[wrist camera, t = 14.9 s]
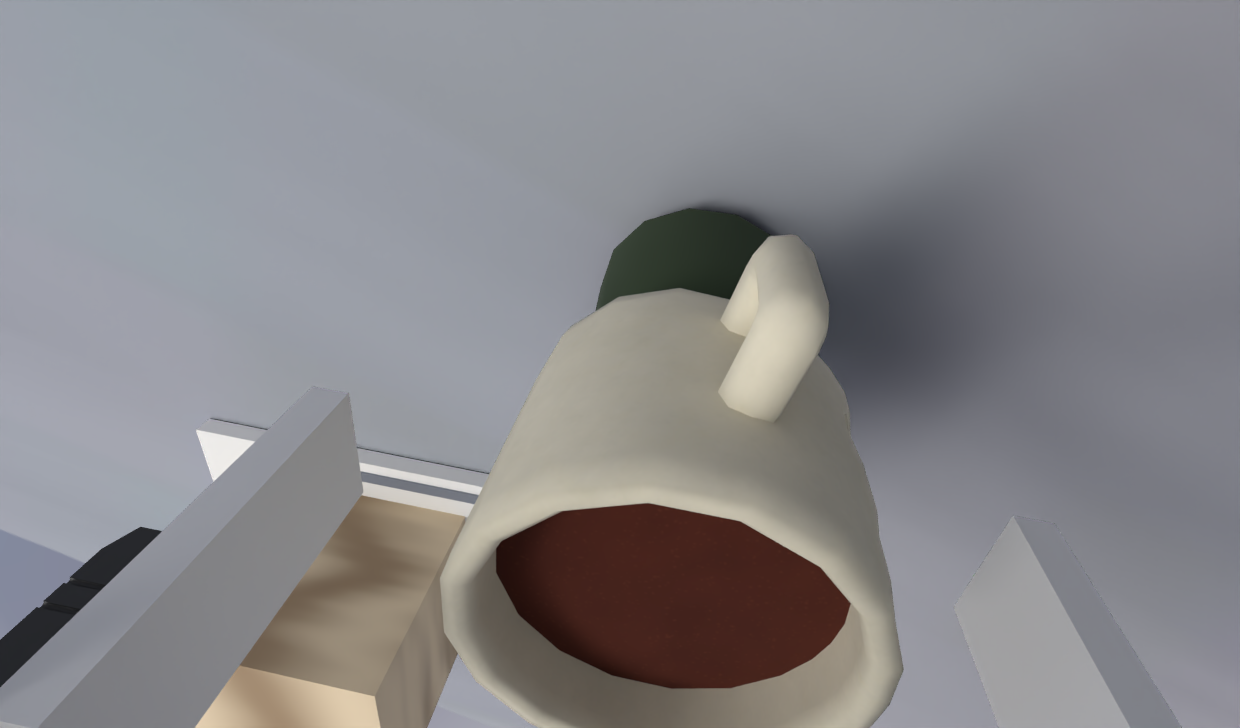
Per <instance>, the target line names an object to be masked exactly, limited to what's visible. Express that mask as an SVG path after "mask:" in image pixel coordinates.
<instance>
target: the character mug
mask: <svg viewBox="0 0 1240 728" xmlns="http://www.w3.org/2000/svg"><path fill="white" fill-rule="evenodd" d="M828 324H829V301H828V298H827V295H826V291H825V288H824V285H823V281H822V278H821V275H820V272H819V268H818V265H817V262H816V259H815V255H814V253H813V252H812V250H811V249H810V248H809V247H808V246H807V245H806V244H805V243H804V242H803V241H802V240H801V239H800V238H799V237H798V236H796V235H792V234H788V235H778V236H771V235H770V234H768V233H766V232H765V231H763V230H761V229H760V228H758V227H756V226H755V225H753V224H751V223H750V222H748V221H746V220H745V219H743V218H741V217H740V216H738V215H734V214H726V213H719V212H712V211H704V210H697V209H690V208H689V209H685V210H682V211H678V212H675V213H671V214H668V215H664V216H661V217H657V218H654V219H650V220H647V221H644V222H643V223H642V224H641V225H640V226H639V227H638V228H637V229H636V230H634V231H633V232H632V233H631V234H630V235H629V236H628V237H627V238H626V239H625V240H624V241H623V242H621V243H620V244H619V245H618V246H617V247H616V248H615V249H614V250H613V253H612V256H611V259H610V262H609V265H608V268H607V271H606V274H605V277H604V280H603V283H602V286H601V289H600V293H599V298H598V302H597V307H596V311H595V312H593V313H592V314H590V315H589V316H587V317H585V318H584V319H582V320H580V321H579V322H577V323H576V324H574V325H572V326H571V327H570V328H569V329H568V330H567V331H566V332H565V333H564V335H563V336H562V337H561V339H560V340H559V342H558V344H557V345H556V347H555V349H554V350H553V352H552V354H551V355H550V357H549V359H548V360H547V362H546V364H545V366H544V367H543V369H542V371H541V372H540V374H539V376H538V377H537V379H536V381H535V383H534V385H533V387H532V389H531V391H530V393H529V395H528V397H527V399H526V401H525V403H524V405H523V407H522V409H521V411H520V413H519V415H518V417H517V419H516V421H515V423H514V425H513V427H512V429H511V431H510V433H509V435H508V437H507V439H506V441H505V443H504V445H503V447H502V449H501V451H500V453H499V455H498V458H497V460H496V462H495V464H494V466H493V468H492V470H491V472H490V474H489V476H488V478H487V480H486V482H485V484H484V486H483V488H482V490H481V492H480V494H479V496H478V498H477V500H476V502H475V504H474V506H473V508H472V510H471V512H470V514H469V516H468V518H467V520H466V522H465V524H464V526H463V528H462V530H461V532H460V534H459V536H458V538H457V540H456V542H455V544H454V547H453V549H452V551H451V553H450V555H449V558H448V560H447V562H446V565H445V567H444V569H443V572H442V574H441V576H440V588H441V600H442V613H443V626H444V633H445V634H446V636H447V638H448V639H449V641H450V642H451V644H452V645H453V647H454V648H455V650H456V651H457V653H458V654H459V656H460V657H461V659H462V660H463V662H464V664H465V665H466V667H467V668H468V670H469V671H470V673H471V674H472V676H473V677H474V679H475V680H476V682H477V683H479V684H480V685H481V686H482V687H484V688H485V689H486V690H487V691H489V692H490V693H491V694H493V695H494V696H495V697H496V698H498V699H499V700H500V701H501V702H503V703H504V704H505V705H507V706H508V707H509V708H510V709H512V710H513V711H514V712H515V713H517V714H518V715H519V716H521V717H522V718H523V719H524V720H526V721H527V722H528V723H530V724H532V725H534V726H537V727H539V728H869V727H871V726H872V725H873V724H874V722H875V721H876V720H877V719H878V718H879V717H880V715H881V714H882V713H883V712H884V711H885V709H886V708H887V707H888V706H889V705H890V702H891V700H892V697H893V695H894V692H895V690H896V687H897V685H898V682H899V680H900V677H901V675H902V672H903V670H904V669H903V663H902V657H901V652H900V646H899V640H898V634H897V629H896V622H895V614H894V605H893V596H892V588H891V580H890V576H889V572H888V568H887V564H886V561H885V557H884V553H883V549H882V545H881V542H880V538H879V528H878V516H877V509H876V505H875V502H874V499H873V495H872V492H871V489H870V485H869V482H868V479H867V476H866V472H865V469H864V466H863V463H862V461H861V459H860V456H859V454H858V452H857V450H856V447H855V445H854V443H853V441H852V438H851V436H850V411H849V407H848V403H847V399H846V395H845V392H844V390H843V389H842V387H841V386H840V384H839V382H838V381H837V379H836V378H835V376H834V374H833V373H832V371H831V370H830V368H829V367H828V366H827V365H826V364H825V363H824V361H823V360H822V359H821V358H820V357H819V356H818V354H819V352H820V349H821V347H822V345H823V343H824V341H825V338H826V336H827V330H828Z"/></svg>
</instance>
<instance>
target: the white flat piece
mask: <svg viewBox="0 0 1240 728" xmlns="http://www.w3.org/2000/svg"><path fill="white" fill-rule="evenodd" d="M196 431H197V434H198V437H199V440H200V443H201V446H202V449H203V452H204V455H205V458H206V461H207V464H208V467H209V470H210V473H211V476H212V479H213V482H214V481H215V480H216V479H217V478H218V477H219V476H220V475H221V474H222V473H223V472H224V471H225V470H226V469H227V468H228V467H229V466H230V465H231V464H233V463H234V462H235V461H236V460H237V459H238V458H239V457H240V456H241V455H242V454H243V453H244V452H245V451H246V450H247V449H248V448H249V447H250V446H251V445H252V444H253V443H254V442H255V441H256V440H257V439H258V438H259V437H261V436H262V435H263V434H264V433H265V432H266V431H267V430H264V429H259V428H254V427H249V426H244V425H239V424H234V423H229V422H224V421H219V420H214V419H208V420H207V421H206V422H204V423H203V424H202V425H201V426H200V427H198V428H197V429H196ZM357 452H358V458H359V465H360V472H361V479H362V485H363V494H362V495H363V496H368V497H372V498H377V499H382V500H387V501H392V502H397V503H402V504H407V505H412V506H416V507H421V508H426V509H431V510H436V511H441V512H446V513H451V514H456V515H460V516H465V522H466V520H467V518H468V516H469V514H470V512H471V510H472V508H473V506H474V504H475V502H476V500H477V498H478V496H479V494H480V492H481V490H482V488H483V486H484V484H485V482H486V480H487V478H488V476H489V474H485V473H480V472H475V471H470V470H465V469H460V468H455V467H450V466H445V465H440V464H435V463H430V462H425V461H420V460H415V459H410V458H405V457H400V456H395V455H390V454H385V453H380V452H375V451H370V450H365V449H360V448H357Z"/></svg>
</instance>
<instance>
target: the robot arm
mask: <svg viewBox="0 0 1240 728" xmlns="http://www.w3.org/2000/svg"><path fill="white" fill-rule="evenodd" d="M362 494H363V485H362V479H361V472H360V465H359V458H358V452H357V445H356V438H355V431H354V425H353V418H352V411H351V405H350V398H349V393H346V392H341V391H335V390H330V389H325V388H319V387H314V386H312V387H311V388H310V389H309V390H308V391H307V392H306V393H305V394H304V395H303V396H302V397H301V398H300V399H299V400H298V401H297V402H296V403H295V404H294V405H293V406H292V407H291V408H290V409H289V410H287V411H286V412H285V413H284V414H283V415H282V416H281V417H280V418H279V419H278V420H277V421H276V422H275V423H274V424H273V425H272V426H271V427H270V428H269V429H268V430H267V431H266V432H265V433H264V434H263V435H262V436H261V437H259V438H258V439H257V440H256V441H255V442H254V443H253V444H252V445H251V446H250V447H249V448H248V449H247V450H246V451H245V452H244V453H243V454H242V455H241V456H240V457H239V458H238V459H237V460H236V461H235V462H234V463H233V464H231V465H230V466H229V467H228V468H227V469H226V470H225V471H224V472H223V473H222V474H221V475H220V476H219V477H218V478H217V479H216V480H215V481H214V482H213V483H212V484H211V485H210V486H209V487H208V488H207V489H206V490H204V491H203V492H202V493H201V494H200V495H199V496H198V497H197V498H196V499H195V500H194V501H193V502H192V503H191V504H190V505H189V506H188V507H187V508H186V509H185V510H184V511H183V512H182V513H181V514H180V515H179V516H178V517H176V518H175V519H174V520H173V521H172V522H171V523H170V524H169V525H168V526H167V527H166V528H165V529H164V530H163V531H158V530H153V529H149V528H144V527H139V528H138V529H136V530H134V531H132V532H131V533H129V534H127V535H125V536H124V537H122V538H120V539H118V540H116V541H115V542H113V543H111V544H109V545H108V546H106V547H104V548H102V549H101V550H100V551H99V552H98V553H96V554H95V555H94V556H93V557H92V558H91V559H90V560H89V561H88V562H86V563H85V564H84V565H83V566H82V567H81V568H80V569H79V570H78V571H76V572H75V573H74V574H73V575H72V576H71V577H70V581H69V582H68V583H66V584H65V583H63V584H62V585H61V586H60V587H59V588H58V589H56V590H55V591H54V592H53V593H52V594H51V595H50V596H49V597H48V598H46V599H45V600H44V603H43V605H42V606H41V607H40V608H38V607H36V608H35V609H34V610H33V611H32V612H31V613H30V614H29V615H27V616H26V618H24V619H23V620H22V621H21V622H20V623H19V624H18V625H16V626H15V627H14V628H13V629H12V630H11V631H10V632H9V633H7V634H6V635H5V636H4V637H3V638H2V639H1V640H0V728H195V727H196V725H197V724H198V723H199V721H200V720H201V718H202V717H203V716H204V714H205V713H206V711H207V710H208V709H209V707H210V706H211V704H212V703H213V702H214V700H215V699H216V697H217V696H218V695H219V693H220V692H221V690H222V689H223V688H224V686H225V685H226V683H227V682H228V681H229V679H230V678H231V676H232V675H233V674H234V672H235V671H236V669H237V668H238V667H239V665H240V664H241V662H242V661H243V660H244V658H245V657H246V656H247V654H248V653H249V651H250V650H251V649H252V647H253V646H254V644H255V643H256V642H257V640H258V639H259V637H260V636H261V635H262V633H263V632H264V630H265V629H266V628H267V626H268V625H269V623H270V622H271V621H272V619H273V618H274V616H275V615H276V614H277V612H278V611H279V609H280V608H281V607H282V605H283V604H284V602H285V601H286V600H287V598H288V597H289V596H290V594H291V593H292V591H293V590H294V589H295V587H296V586H297V584H298V583H299V582H300V580H301V579H302V577H303V576H304V575H305V573H306V572H307V570H308V569H309V568H310V566H311V565H312V563H313V562H314V561H315V559H316V558H317V556H318V555H319V554H320V552H321V551H322V549H323V548H324V547H325V545H326V544H327V542H328V541H329V540H330V538H331V537H332V536H333V534H334V533H335V531H336V530H337V529H338V527H339V526H340V524H341V523H342V522H343V520H344V519H345V517H346V516H347V515H348V513H349V512H350V510H351V509H352V508H353V506H354V505H355V503H356V502H357V501H358V499H359V498H360V496H361V495H362ZM954 609H955V612H956V615H957V617H958V620H959V623H960V625H961V628H962V631H963V633H964V636H965V639H966V641H967V644H968V647H969V649H970V652H971V655H972V657H973V660H974V663H975V665H976V668H977V671H978V673H979V676H980V679H981V681H982V684H983V687H984V689H985V692H986V695H987V697H988V700H989V703H990V705H991V708H992V711H993V713H994V716H995V719H996V721H997V724H998V727H999V728H1182V727H1181V725H1180V724H1179V722H1178V720H1177V719H1176V717H1175V716H1174V714H1173V712H1172V711H1171V709H1170V708H1169V706H1168V704H1167V703H1166V701H1165V700H1164V698H1163V696H1162V695H1161V693H1160V692H1159V690H1158V688H1157V687H1156V685H1155V684H1154V682H1153V680H1152V679H1151V677H1150V676H1149V674H1148V672H1147V671H1146V669H1145V668H1144V666H1143V664H1142V663H1141V661H1140V660H1139V658H1138V656H1137V655H1136V653H1135V651H1134V650H1133V648H1132V647H1131V645H1130V643H1129V642H1128V640H1127V639H1126V637H1125V635H1124V634H1123V632H1122V631H1121V629H1120V627H1119V626H1118V624H1117V623H1116V621H1115V619H1114V618H1113V616H1112V615H1111V613H1110V611H1109V610H1108V608H1107V607H1106V605H1105V603H1104V602H1103V600H1102V599H1101V597H1100V595H1099V594H1098V592H1097V591H1096V589H1095V587H1094V586H1093V584H1092V582H1091V581H1090V579H1089V578H1088V576H1087V574H1086V573H1085V571H1084V570H1083V568H1082V566H1081V565H1080V563H1079V562H1078V560H1077V558H1076V557H1075V555H1074V554H1073V552H1072V550H1071V549H1070V547H1069V546H1068V544H1067V542H1066V541H1065V539H1064V538H1063V536H1062V534H1061V533H1060V531H1059V530H1058V528H1057V526H1056V525H1055V523H1051V522H1046V521H1040V520H1035V519H1029V518H1024V517H1018V516H1012V518H1011V519H1010V521H1009V522H1008V524H1007V525H1006V527H1005V529H1004V530H1003V532H1002V533H1001V535H1000V536H999V538H998V539H997V541H996V542H995V544H994V545H993V547H992V549H991V550H990V552H989V553H988V555H987V556H986V558H985V559H984V561H983V562H982V564H981V565H980V567H979V569H978V570H977V572H976V573H975V575H974V576H973V578H972V579H971V581H970V582H969V584H968V585H967V587H966V589H965V590H964V592H963V593H962V595H961V596H960V598H959V599H958V601H957V602H956V604H955V605H954Z"/></svg>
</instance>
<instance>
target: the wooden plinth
mask: <svg viewBox="0 0 1240 728" xmlns="http://www.w3.org/2000/svg"><path fill="white" fill-rule="evenodd" d="M464 524H465V516H460V515H456V514H451V513H446V512H441V511H436V510H431V509H426V508H421V507H416V506H412V505H407V504H402V503H397V502H392V501H387V500H382V499H377V498H372V497H368V496H363V495H361V496H360V498H359V499H358V501H357V502H356V503H355V505H354V506H353V508H352V509H351V510H350V512H349V513H348V515H347V516H346V517H345V519H344V520H343V522H342V523H341V524H340V526H339V527H338V529H337V530H336V531H335V533H334V534H333V536H332V537H331V538H330V540H329V541H328V542H327V544H326V545H325V547H324V548H323V549H322V551H321V552H320V554H319V555H318V556H317V558H316V559H315V561H314V562H313V563H312V565H311V566H310V568H309V569H308V570H307V572H306V573H305V575H304V576H303V577H302V579H301V580H300V582H299V583H298V584H297V586H296V587H295V589H294V590H293V591H292V593H291V594H290V596H289V597H288V598H287V600H286V601H285V602H284V604H283V605H282V607H281V608H280V609H279V611H278V612H277V614H276V615H275V616H274V618H273V619H272V621H271V622H270V623H269V625H268V626H267V628H266V629H265V630H264V632H263V633H262V635H261V636H260V637H259V639H258V640H257V642H256V643H255V644H254V646H253V647H252V649H251V650H250V651H249V653H248V654H247V656H246V657H245V658H244V660H243V661H242V662H241V664H240V665H239V667H238V668H237V669H236V671H235V672H234V674H233V675H232V676H231V678H230V679H229V681H228V682H227V683H226V685H225V686H224V688H223V689H222V690H221V692H220V693H219V695H218V696H217V697H216V699H215V700H214V702H213V703H212V704H211V706H210V707H209V709H208V710H207V711H206V713H205V714H204V716H203V717H202V718H201V720H200V721H199V723H198V724H197V725H196V727H195V728H427V727H428V724H429V722H430V719H431V717H432V715H433V712H434V710H435V707H436V705H437V703H438V700H439V698H440V695H441V693H442V690H443V688H444V685H445V683H446V681H447V678H448V676H449V673H450V671H451V668H452V666H453V664H454V661H455V659H456V656H457V654H458V653H457V651H456V650H455V648H454V647H453V645H452V644H451V642H450V641H449V639H448V638H447V636H446V634H445V633H444V626H443V613H442V600H441V588H440V576H441V574H442V572H443V569H444V567H445V565H446V562H447V560H448V558H449V555H450V553H451V551H452V549H453V547H454V544H455V542H456V540H457V538H458V536H459V534H460V532H461V530H462V528H463V526H464Z"/></svg>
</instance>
